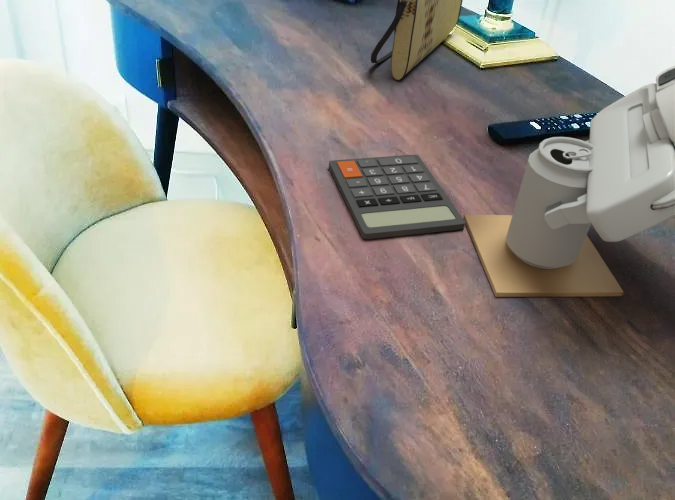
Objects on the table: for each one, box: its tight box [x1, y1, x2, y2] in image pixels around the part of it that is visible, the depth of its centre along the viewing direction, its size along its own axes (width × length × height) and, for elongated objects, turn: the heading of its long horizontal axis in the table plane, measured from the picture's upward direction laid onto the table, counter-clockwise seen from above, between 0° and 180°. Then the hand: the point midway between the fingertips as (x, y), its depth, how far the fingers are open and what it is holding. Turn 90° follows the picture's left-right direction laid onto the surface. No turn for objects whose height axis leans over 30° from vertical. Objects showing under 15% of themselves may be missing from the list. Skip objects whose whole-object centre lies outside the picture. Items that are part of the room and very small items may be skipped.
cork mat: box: [462, 214, 625, 298], centre depth 68 cm, size 13×13×1 cm
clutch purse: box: [370, 0, 464, 81], centre depth 106 cm, size 30×7×15 cm, turn 154°
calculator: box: [328, 154, 466, 240], centre depth 75 cm, size 12×1×15 cm
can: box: [506, 136, 595, 269], centre depth 64 cm, size 8×8×12 cm
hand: (550, 195), depth 64 cm, fingers closed on can, 7 cm apart
